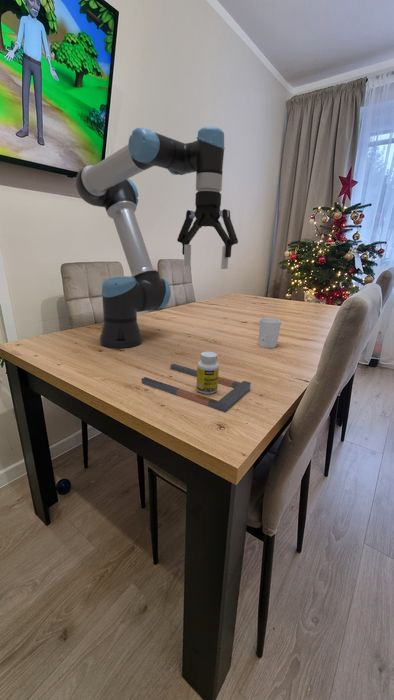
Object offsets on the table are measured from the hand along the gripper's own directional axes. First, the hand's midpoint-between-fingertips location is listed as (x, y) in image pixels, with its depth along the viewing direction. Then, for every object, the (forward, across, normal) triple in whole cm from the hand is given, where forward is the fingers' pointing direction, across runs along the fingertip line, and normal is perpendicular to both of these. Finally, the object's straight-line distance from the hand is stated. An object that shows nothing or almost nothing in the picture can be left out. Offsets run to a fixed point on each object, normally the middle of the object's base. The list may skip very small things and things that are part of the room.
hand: (205, 267), depth 96 cm
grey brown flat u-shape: (+29, -12, +23) cm, 39 cm away
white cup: (+29, -15, -24) cm, 40 cm away
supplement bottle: (+29, -16, +23) cm, 40 cm away
